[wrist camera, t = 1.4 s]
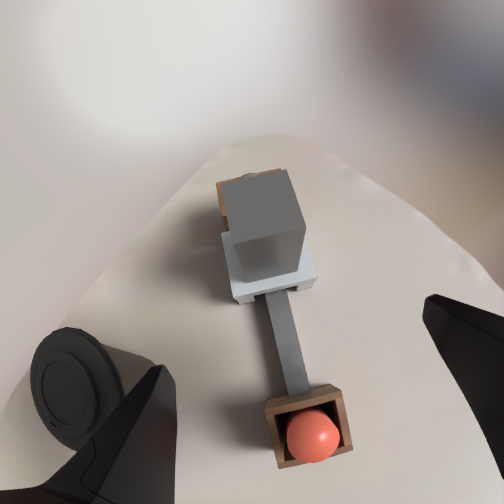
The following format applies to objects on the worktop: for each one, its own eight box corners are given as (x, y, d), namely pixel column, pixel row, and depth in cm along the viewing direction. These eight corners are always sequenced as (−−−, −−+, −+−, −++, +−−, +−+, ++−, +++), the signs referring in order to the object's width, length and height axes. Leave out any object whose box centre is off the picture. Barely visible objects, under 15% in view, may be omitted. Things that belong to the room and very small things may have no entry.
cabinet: (340, 434, 17) (353, 449, 14) (278, 450, 17) (278, 469, 14) (330, 383, 19) (341, 390, 15) (266, 399, 19) (264, 409, 15)
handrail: (308, 391, 19) (311, 393, 17) (288, 396, 19) (289, 399, 17) (270, 235, 24) (269, 227, 22) (252, 239, 24) (250, 231, 22)
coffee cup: (108, 426, 19) (32, 445, 9) (97, 342, 22) (17, 326, 12) (189, 429, 19) (130, 470, 9) (174, 335, 21) (105, 318, 12)
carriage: (312, 287, 22) (336, 235, 12) (239, 304, 22) (208, 265, 12) (296, 231, 24) (304, 154, 14) (227, 247, 24) (195, 178, 14)
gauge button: (331, 436, 16) (343, 454, 12) (290, 447, 16) (292, 467, 12) (323, 400, 17) (334, 411, 13) (281, 411, 17) (282, 425, 13)
